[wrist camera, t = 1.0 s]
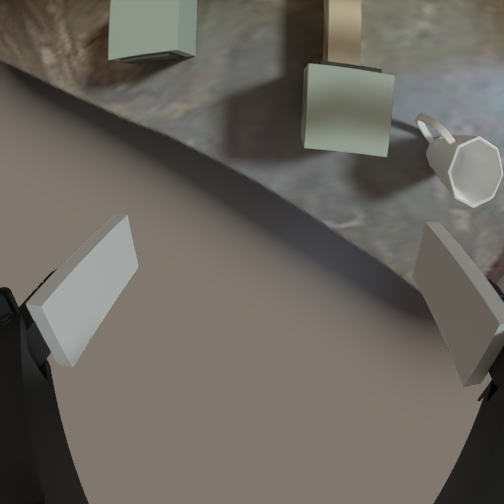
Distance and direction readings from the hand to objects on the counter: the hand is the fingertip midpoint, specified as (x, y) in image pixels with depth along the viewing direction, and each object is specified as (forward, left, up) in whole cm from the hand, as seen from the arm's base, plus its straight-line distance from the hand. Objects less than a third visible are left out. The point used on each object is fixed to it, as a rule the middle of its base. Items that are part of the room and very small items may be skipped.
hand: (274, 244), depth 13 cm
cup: (-3, +17, -22) cm, 28 cm away
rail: (-11, +5, -22) cm, 25 cm away
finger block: (-14, -13, -22) cm, 29 cm away
